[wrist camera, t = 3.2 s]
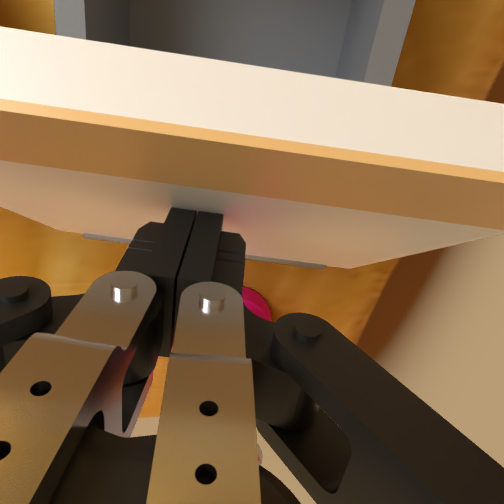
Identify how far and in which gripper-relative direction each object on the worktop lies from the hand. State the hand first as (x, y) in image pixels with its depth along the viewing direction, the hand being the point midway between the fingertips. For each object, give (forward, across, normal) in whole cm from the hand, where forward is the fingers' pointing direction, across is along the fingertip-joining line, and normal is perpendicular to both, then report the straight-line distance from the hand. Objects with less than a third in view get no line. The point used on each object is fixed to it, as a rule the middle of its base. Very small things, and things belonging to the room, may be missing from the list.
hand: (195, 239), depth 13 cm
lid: (+2, 0, -1) cm, 2 cm away
